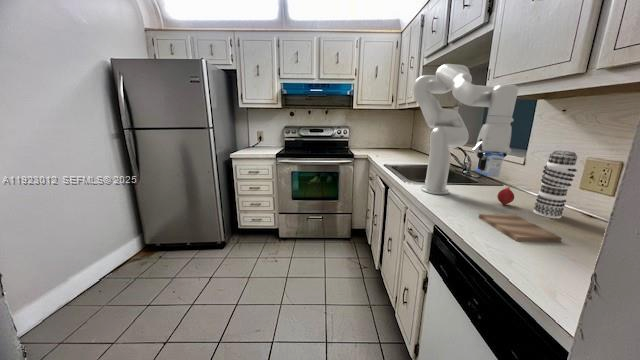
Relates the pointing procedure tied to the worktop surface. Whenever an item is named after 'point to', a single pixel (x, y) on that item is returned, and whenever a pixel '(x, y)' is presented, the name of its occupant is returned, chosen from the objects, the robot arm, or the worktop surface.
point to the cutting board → (519, 228)
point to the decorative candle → (555, 184)
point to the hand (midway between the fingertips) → (487, 169)
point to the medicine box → (492, 164)
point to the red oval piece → (505, 196)
